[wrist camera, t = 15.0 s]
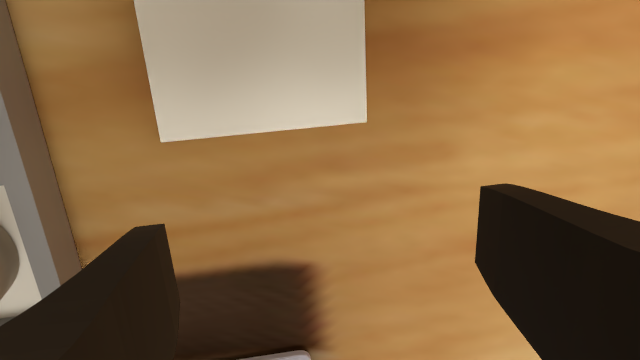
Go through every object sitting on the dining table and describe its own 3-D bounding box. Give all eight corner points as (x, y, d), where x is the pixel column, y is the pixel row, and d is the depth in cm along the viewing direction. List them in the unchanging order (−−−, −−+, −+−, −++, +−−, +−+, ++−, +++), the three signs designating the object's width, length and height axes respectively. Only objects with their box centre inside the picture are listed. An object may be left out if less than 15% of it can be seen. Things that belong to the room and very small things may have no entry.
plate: (364, 119, 20) (367, 122, 20) (162, 139, 19) (160, 142, 19) (359, -107, 17) (362, -109, 17) (117, -96, 16) (115, -97, 16)
